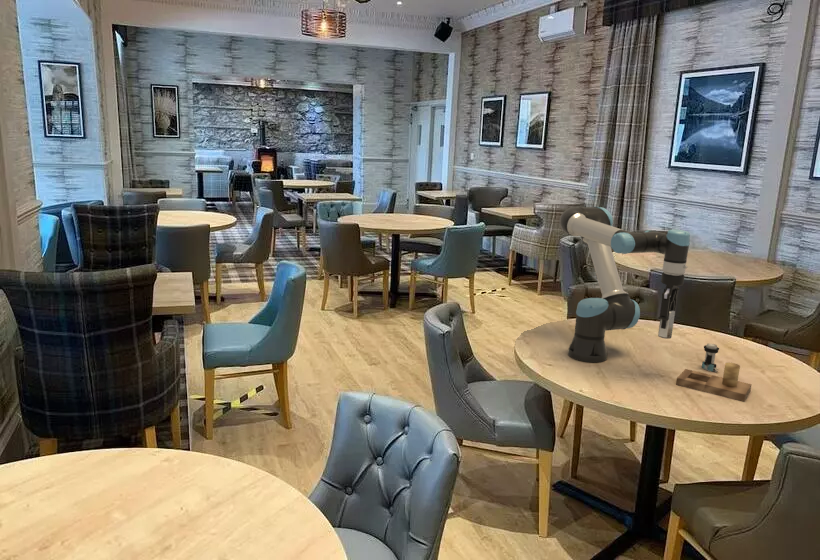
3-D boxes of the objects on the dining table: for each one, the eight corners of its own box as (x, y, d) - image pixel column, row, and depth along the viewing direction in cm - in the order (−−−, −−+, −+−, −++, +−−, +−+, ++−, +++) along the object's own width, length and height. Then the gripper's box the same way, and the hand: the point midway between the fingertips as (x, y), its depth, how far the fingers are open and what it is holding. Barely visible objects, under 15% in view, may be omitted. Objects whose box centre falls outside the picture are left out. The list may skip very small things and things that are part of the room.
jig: (676, 384, 216) (679, 358, 214) (684, 375, 226) (688, 350, 223) (744, 401, 203) (748, 373, 201) (750, 391, 212) (754, 364, 210)
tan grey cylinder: (656, 336, 221) (659, 310, 218) (660, 333, 224) (663, 308, 222) (669, 339, 218) (673, 313, 216) (672, 336, 222) (676, 310, 219)
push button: (722, 372, 230) (725, 347, 228) (712, 373, 228) (716, 349, 226) (707, 366, 236) (710, 342, 234) (697, 367, 234) (701, 343, 232)
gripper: (677, 278, 207) (668, 342, 212) (690, 271, 220) (681, 331, 226) (655, 275, 211) (647, 338, 216) (669, 268, 225) (661, 327, 230)
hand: (664, 334), depth 221 cm, fingers closed on tan grey cylinder, 5 cm apart
